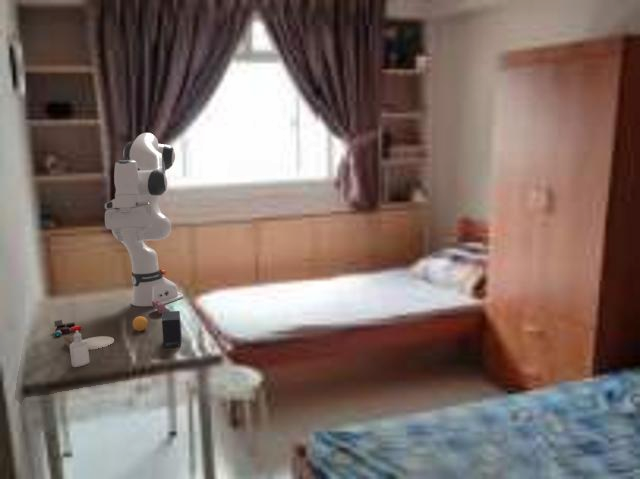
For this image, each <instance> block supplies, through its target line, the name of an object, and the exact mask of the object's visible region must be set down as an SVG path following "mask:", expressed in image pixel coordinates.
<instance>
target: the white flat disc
mask: <svg viewBox="0 0 640 479" xmlns="http://www.w3.org/2000/svg"><path fill="white" fill-rule="evenodd" d="M83 340H85V341H87V344H88V351H89V350H90V351H91V350H97V349H98V348H99V349H102V347H103V348H106V347H109V346H111V345H112V344H114V342H115V339H114V338H113V337H111V336H106V335H104V336H103V335H100V336H93V337H88V338H84V339H83ZM110 344H111V345H110ZM108 345H109V346H108ZM99 349H98V350H99Z"/></svg>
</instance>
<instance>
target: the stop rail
mask: <svg viewBox="0 0 640 479" xmlns="http://www.w3.org/2000/svg"><path fill="white" fill-rule="evenodd" d="M63 338H64V340H63V341H64V345H66V347H67V348H70V344H71V343H72V342H74V335H71V334H69V335H66V336H64V337H63Z"/></svg>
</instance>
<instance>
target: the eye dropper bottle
mask: <svg viewBox="0 0 640 479" xmlns="http://www.w3.org/2000/svg"><path fill="white" fill-rule="evenodd" d="M73 337H74V342H72V343H71V344H70V347H69V353H70V360H71V366H72V367H74V368H80V367H83V366H86V365H87V364H90V353H89V350H88V344H87V341H85V340H84V339H82V338H83V336H82V334H81V333H80V332H79V331H78V330H76V331H75V333H74V334H73Z"/></svg>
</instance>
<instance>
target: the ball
mask: <svg viewBox="0 0 640 479" xmlns="http://www.w3.org/2000/svg"><path fill="white" fill-rule="evenodd" d="M148 325H149V324H148V319H147V318H146V317H145V316H142V315H141V316H140V315H139V316H136V317H135V318H133V321H132V327H133V329H134V330H135V331H137V332H141V331H144V330H146V328H147V327H148Z"/></svg>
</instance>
